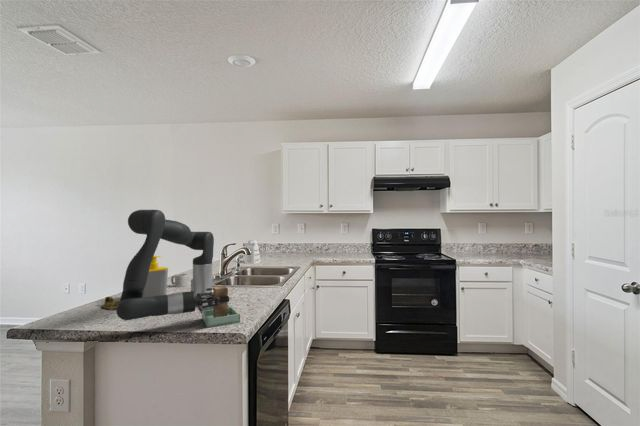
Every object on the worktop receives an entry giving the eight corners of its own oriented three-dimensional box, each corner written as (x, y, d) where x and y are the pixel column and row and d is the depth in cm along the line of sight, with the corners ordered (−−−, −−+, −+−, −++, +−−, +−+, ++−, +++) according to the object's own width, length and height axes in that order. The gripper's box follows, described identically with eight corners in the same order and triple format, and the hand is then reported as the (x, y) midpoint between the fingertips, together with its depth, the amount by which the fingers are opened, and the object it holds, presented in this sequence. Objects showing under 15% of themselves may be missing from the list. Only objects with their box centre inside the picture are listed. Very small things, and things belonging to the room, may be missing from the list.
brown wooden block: (215, 320, 121) (215, 289, 121) (213, 317, 125) (213, 287, 125) (227, 319, 123) (227, 288, 123) (225, 315, 127) (225, 285, 127)
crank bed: (204, 314, 131) (204, 295, 131) (198, 305, 145) (198, 288, 145) (231, 310, 137) (231, 292, 137) (222, 302, 151) (222, 285, 151)
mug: (189, 285, 191) (189, 274, 191) (182, 287, 184) (182, 276, 184) (175, 284, 193) (175, 273, 193) (167, 286, 186) (167, 275, 186)
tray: (207, 327, 116) (207, 319, 116) (201, 318, 126) (201, 311, 126) (240, 322, 122) (240, 314, 122) (232, 314, 132) (232, 306, 132)
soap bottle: (170, 298, 158) (170, 256, 158) (140, 302, 150) (140, 258, 151) (165, 293, 168) (166, 253, 169) (137, 297, 161) (137, 255, 161)
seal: (135, 309, 145) (114, 305, 151) (136, 298, 146) (115, 295, 152) (115, 312, 137) (93, 308, 143) (116, 301, 137) (95, 297, 143)
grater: (254, 263, 279) (254, 241, 279) (244, 263, 283) (244, 240, 283) (260, 262, 289) (260, 240, 289) (250, 261, 293) (250, 240, 293)
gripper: (183, 296, 111) (231, 291, 119) (178, 288, 123) (222, 284, 132) (183, 318, 111) (231, 311, 119) (178, 308, 123) (222, 302, 132)
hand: (226, 297), depth 125 cm, fingers open, 6 cm apart
